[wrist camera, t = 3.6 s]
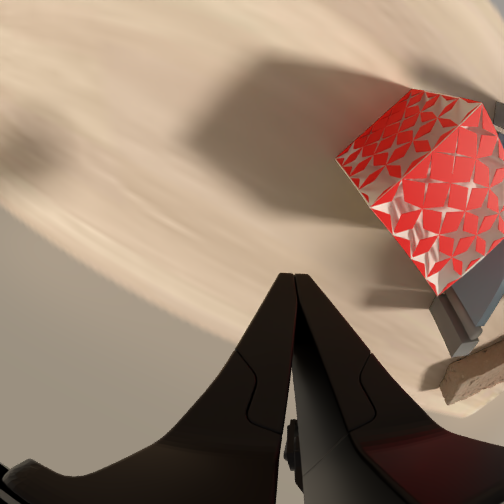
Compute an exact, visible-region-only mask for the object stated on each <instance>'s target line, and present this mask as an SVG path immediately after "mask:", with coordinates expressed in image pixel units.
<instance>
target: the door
mask: <svg viewBox="0 0 504 504" xmlns="http://www.w3.org/2000/svg"><path fill="white" fill-rule="evenodd" d="M498 137H499V139H500V141H501V144H502V146H503V149H504V134H501V133H499V134H498ZM444 292H445V294H446V295H447V297H448V299H449V301H450V302H451V304H452V306H453V308H454V309H455V311H456V313H457V315H458V317H459V319H460V320H461V322H462V324H463V326H464V328H465V330H466V332H467V334H468V336H469V338H470V339H471V340H474V339H476V338H477V337H479V336H480V335H481V333H482V328H481V326H484V325H485V323H486V322H487V320H488V319H489V317H490V316H491V314H492V313H493V311H494V309H495V308H496V306H497V304H498V303H499V301H500V299H501V298H502V296H503V294H504V239H503V240H502V241H501V242H500V243H499V244H498V245H497V246H496V247H495V248H494V249H493V250H492V251H490V252H489V253H488V254H487V255H486V256H485V257H484V258H483V259H482V260H481V261H480V262H478V263H477V264H476V265H475V266H474V267H473V268H472V269H470V270H469V271H468V272H467V273H466V274H465V275H463V276H462V277H461V278H460V279H459V280H457V281H456V282H455V283H454V284H453V285H451V286H450V287H449V288H448V289H446V290H445V291H444Z"/></svg>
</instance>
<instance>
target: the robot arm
mask: <svg viewBox="0 0 504 504" xmlns="http://www.w3.org/2000/svg"><path fill="white" fill-rule="evenodd" d="M370 353H371V351H370V350H369V348H368V347H367V346H366V345H365V343H364V342H363V341H362V340H361V338H360V337H359V336H358V335H357V333H356V332H355V331H354V330H353V328H352V327H351V326H350V325H349V323H348V322H347V321H346V320H345V318H344V317H343V316H342V315H341V313H340V312H339V311H338V310H337V309H336V307H335V306H334V305H333V304H332V302H331V301H330V300H329V299H328V298H327V296H326V295H325V294H324V293H323V291H322V290H321V289H320V288H319V287H318V285H317V284H316V283H315V282H314V281H313V279H312V278H311V277H310V276H309V275H308V274H295V275H293V274H292V273H279V275H278V276H277V278H276V280H275V282H274V283H273V285H272V287H271V289H270V290H269V292H268V294H267V296H266V297H265V299H264V301H263V303H262V304H261V306H260V308H259V309H258V311H257V313H256V315H255V316H254V318H253V320H252V321H251V323H250V325H249V326H248V328H247V330H246V331H245V333H244V335H243V337H242V338H241V340H240V342H239V343H238V345H237V347H236V348H235V351H233V353H232V355H231V356H230V358H229V359H228V361H227V363H226V364H225V366H224V367H223V369H222V370H221V372H220V373H219V375H218V376H217V377H216V379H215V380H214V381H213V382H212V384H211V385H210V386H209V387H208V389H207V390H206V391H205V392H204V393H203V395H202V396H201V397H200V398H199V399H198V400H197V401H196V403H195V404H194V405H193V406H192V407H191V408H190V409H189V410H188V412H187V413H186V414H185V415H184V416H183V417H182V418H181V419H180V420H179V422H178V423H177V424H176V425H175V426H174V427H173V428H172V429H171V430H170V431H169V432H168V433H167V434H166V435H165V436H163V437H162V438H161V439H160V440H158V441H157V442H155V443H154V444H152V445H150V446H148V447H146V448H144V449H142V450H140V451H138V452H136V453H134V454H132V455H130V456H128V457H126V458H124V459H122V460H120V461H118V462H116V463H114V464H111V465H110V466H107V467H105V468H103V469H101V470H98V471H96V472H93V473H90V474H87V475H84V476H76V477H72V476H64V475H61V474H58V473H56V472H54V471H52V470H51V469H49V468H47V467H45V466H43V465H41V464H40V463H38V462H36V461H34V460H32V459H27V460H25V461H23V462H22V463H20V464H18V465H16V466H14V467H13V468H11V469H9V468H8V467H6V466H5V465H3V464H2V463H0V504H276V493H277V481H278V467H279V456H280V448H281V441H282V434H283V428H284V421H285V414H286V407H287V400H288V392H289V384H290V376H291V368H292V373H293V382H294V391H295V401H296V411H297V420H295V419H293V420H291V421H290V425H288V426H287V442H286V446H285V451H284V459H285V460H286V461H288V464H289V467H290V470H291V471H295V482H296V484H297V485H298V487H299V488H300V489H301V491H302V492H303V494H304V504H504V447H503V446H499V445H494V444H490V443H486V442H482V441H479V440H475V439H471V438H468V437H464V436H461V435H457V434H454V433H451V432H449V431H447V430H445V429H444V428H442V427H440V426H439V425H438V424H436V422H434V421H433V420H432V419H431V418H430V417H429V416H428V415H427V414H426V412H425V411H424V410H423V409H422V408H421V407H420V406H419V405H418V404H417V403H416V402H415V401H414V400H413V399H412V398H411V397H410V396H409V395H408V394H407V393H406V392H405V391H404V390H403V389H402V388H401V386H400V385H399V384H398V383H397V382H396V381H395V380H394V379H393V378H392V377H391V376H390V374H389V373H388V372H387V371H386V369H385V368H384V367H383V366H382V365H381V363H380V362H379V361H378V360H377V358H376V357H375V356H374V355H373V353H371V354H370Z"/></svg>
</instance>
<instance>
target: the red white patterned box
mask: <svg viewBox="0 0 504 504" xmlns="http://www.w3.org/2000/svg"><path fill="white" fill-rule="evenodd" d="M335 161H336V162H337V163H338V165H339V166H340V167H341V169H342V170H343V171H344V173H345V174H346V175H347V177H348V178H349V179H350V181H351V182H352V183H353V185H354V186H355V188H356V189H357V190H358V192H359V193H360V195H361V196H362V197H363V199H364V200H365V202H366V203H367V205H368V206H369V208H370V209H371V210H372V211H373V212H374V213H375V215H376V216H377V217H378V218H379V219H380V221H381V222H382V223H383V224H384V225H385V227H386V228H387V229H388V230H389V232H390V233H391V234H392V235H393V236H394V238H395V239H396V240H397V242H398V243H399V244H400V245H401V247H402V248H403V249H404V251H405V252H406V253H407V255H408V256H409V257H410V258H411V260H412V261H413V263H414V264H415V265H416V267H417V268H418V269H419V271H420V272H421V273H422V275H423V276H424V278H425V279H426V281H427V282H428V283H429V285H430V286H431V288H432V289H433V291H434V292H435V294H436V295H437V296H439V295H440V294H441V293H443V292H444V291H445V290H446V289H448V288H449V287H450V286H451V285H453V284H454V283H455V282H456V281H457V280H459V279H460V278H461V277H462V276H463V275H465V274H466V273H467V272H468V271H469V270H470V269H472V268H473V267H474V266H475V265H476V264H477V263H478V262H480V261H481V260H482V259H483V258H484V257H485V256H486V255H487V254H488V253H489V252H490V251H492V250H493V249H494V248H495V247H496V246H497V245H498V244H499V243H500V242H501V241H502V240H503V239H504V149H503V146H502V144H501V141H500V139H499V137H498V134H497V132H496V130H495V128H494V126H493V123H492V121H491V119H490V117H489V115H488V113H487V111H486V109H485V107H484V105H483V104H482V103H481V102H477V101H473V100H469V99H465V98H461V97H456V96H451V95H446V94H440V93H435V92H429V91H423V90H417V89H411V91H409V92H408V93H407V94H406V95H405V96H404V97H403V98H402V99H400V100H399V101H398V102H397V103H396V104H395V105H394V106H393V107H391V108H390V109H389V110H388V111H387V112H386V113H385V114H384V115H383V116H382V117H380V118H379V119H378V120H377V121H376V122H375V123H374V124H373V125H372V126H371V127H369V128H368V129H367V130H366V131H365V132H364V133H363V134H362V135H361V136H360V137H358V138H357V139H356V140H355V141H354V142H353V143H351V144H350V145H349V146H348V147H347V148H346V149H345V150H344V151H343V152H342V153H341V154H339V155H338V156H337V157H336V159H335Z"/></svg>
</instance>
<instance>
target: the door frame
mask: <svg viewBox="0 0 504 504" xmlns="http://www.w3.org/2000/svg"><path fill="white" fill-rule="evenodd" d="M493 124H495V125H497V126H499V127H501V128H503V129H504V104H503V103H500V102H496V108H495V116H494V122H493ZM429 310H430V312H431V314H432V316H433V318H434V320H435V322H436V324H437V326H438V328H439V331H440V333H441V335H442V337H443V339H444V341H445V344H446V346H447V348H448V351H449V353H450V355H451V358H452V357H458V356H465V355H469V354H470V353H471V351H472V350H473V349H474V347H475V346H476V345H477V343H478V342H479V340H478V338H476V339H474V340H471V339H470V338H469V336H468V334H467V332H466V330H465V328H464V326H463V324H462V322H461V320H460V319H459V317H458V315H457V313H456V311H455V309H454V308H453V306H452V304H451V302H450V301H449V299H448V297H447V295H439V296H437V295H436V297H435V299H434V301H433V303H432V305H431V307H430V309H429Z"/></svg>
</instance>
